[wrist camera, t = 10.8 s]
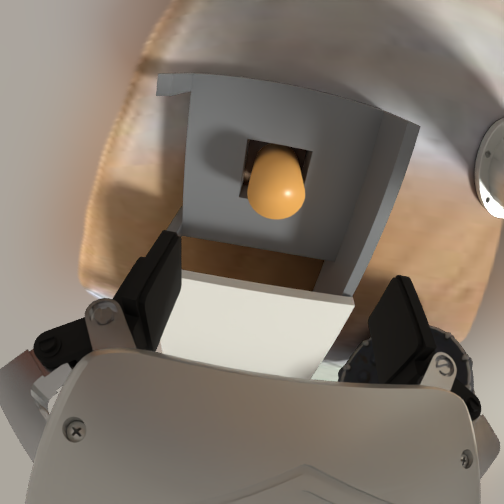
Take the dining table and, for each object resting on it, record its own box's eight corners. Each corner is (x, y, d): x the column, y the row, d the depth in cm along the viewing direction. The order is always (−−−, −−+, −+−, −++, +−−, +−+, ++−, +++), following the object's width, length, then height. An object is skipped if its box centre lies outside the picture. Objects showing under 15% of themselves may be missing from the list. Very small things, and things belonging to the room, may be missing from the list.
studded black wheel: (322, 336, 38) (331, 472, 22) (450, 296, 33) (499, 418, 16) (336, 370, 44) (343, 480, 28) (444, 337, 38) (475, 440, 22)
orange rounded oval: (302, 147, 24) (311, 173, 18) (293, 187, 26) (297, 224, 20) (258, 139, 24) (252, 161, 18) (251, 179, 26) (243, 214, 20)
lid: (352, 297, 23) (363, 343, 19) (304, 380, 32) (304, 416, 28) (155, 264, 23) (133, 307, 19) (167, 359, 32) (156, 393, 27)
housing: (382, 110, 21) (420, 126, 15) (302, 333, 38) (304, 379, 32) (191, 72, 20) (158, 73, 14) (182, 313, 38) (167, 357, 32)
